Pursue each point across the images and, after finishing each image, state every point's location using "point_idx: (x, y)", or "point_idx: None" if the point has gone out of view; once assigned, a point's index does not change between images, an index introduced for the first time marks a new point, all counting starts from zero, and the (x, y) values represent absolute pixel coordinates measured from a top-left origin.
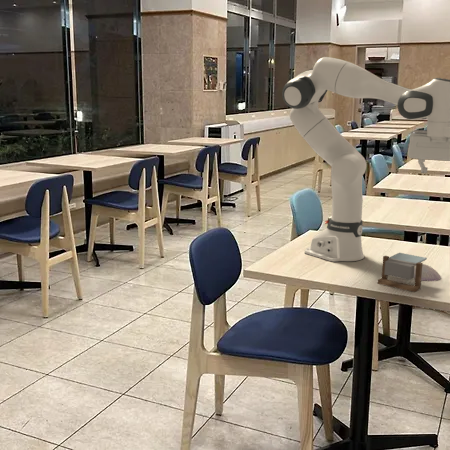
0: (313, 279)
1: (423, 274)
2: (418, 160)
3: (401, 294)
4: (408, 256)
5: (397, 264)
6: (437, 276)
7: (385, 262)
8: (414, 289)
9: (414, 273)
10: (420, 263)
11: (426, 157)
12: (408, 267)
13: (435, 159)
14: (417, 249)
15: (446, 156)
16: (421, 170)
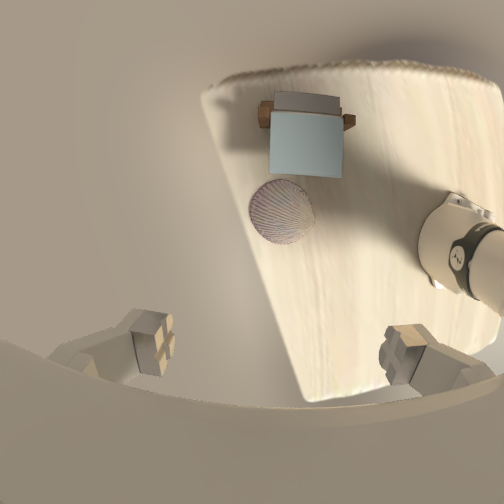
0: (427, 78)
1: (278, 189)
2: (491, 373)
3: (276, 78)
4: (310, 157)
5: (308, 93)
6: (254, 209)
7: (338, 97)
8: (262, 101)
9: (299, 192)
10: (260, 110)
11: (460, 399)
12: (280, 92)
13: (331, 407)
14: (345, 366)
15: (123, 434)
16: (424, 330)
